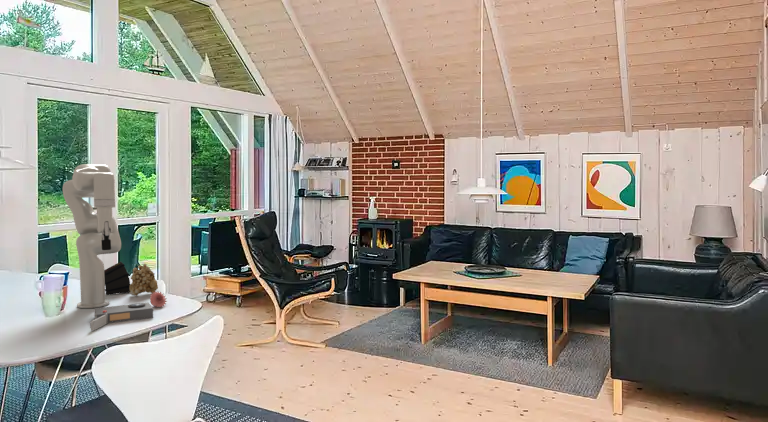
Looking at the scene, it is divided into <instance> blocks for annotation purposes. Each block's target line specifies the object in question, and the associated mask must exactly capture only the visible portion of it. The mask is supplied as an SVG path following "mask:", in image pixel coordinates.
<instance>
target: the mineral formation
mask: <svg viewBox="0 0 768 422" xmlns="http://www.w3.org/2000/svg"><path fill="white" fill-rule="evenodd" d="M155 277H156V276H155V273H154V271H152V269H150V267H149V266H148V265H147V264H146V263H144V264H143V265H138V266H137V267H134V268H133V269H132V274H131V276H130V280H132V282H131V283H130V288H129V289H130V292H129V295H131V296H134V297H136V296H138V295H139V294H142V293H149V294H153V293H152V292H154V293H155V291H156V292H157V291H158V289H159V285H158V281H157V280H156V279H155Z"/></svg>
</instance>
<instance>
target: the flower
mask: <svg viewBox="0 0 768 422" xmlns="http://www.w3.org/2000/svg"><path fill="white" fill-rule="evenodd" d="M152 293H153V294H152ZM152 293H150V296H149V298H150V299H149V301H150V302H149V304H150V305H151V306H152V307H157V308H162V307H165V305H166V304H167V302H168V300H167V298H166V295H165V294H164V293H162V292H161V291H160V292H159V291H157V290H156V291H155V293H154V292H152Z"/></svg>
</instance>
